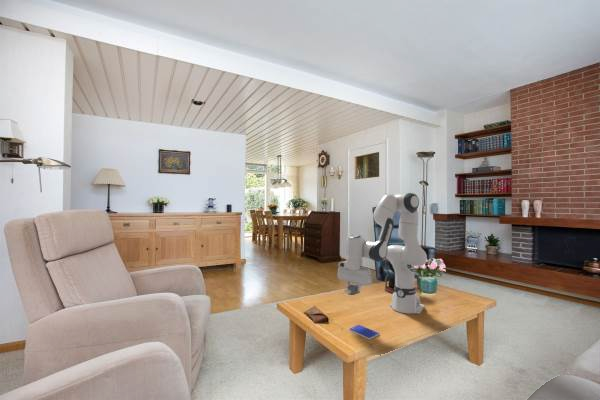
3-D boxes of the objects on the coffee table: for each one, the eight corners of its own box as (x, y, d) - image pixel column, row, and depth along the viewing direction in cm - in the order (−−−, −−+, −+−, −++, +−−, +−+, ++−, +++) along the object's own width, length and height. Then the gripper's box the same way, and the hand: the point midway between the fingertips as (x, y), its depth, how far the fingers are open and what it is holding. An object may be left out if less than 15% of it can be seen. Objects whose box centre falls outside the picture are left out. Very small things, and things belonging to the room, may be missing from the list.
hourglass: (407, 289, 218) (408, 256, 218) (407, 295, 203) (407, 260, 203) (385, 287, 223) (386, 255, 224) (383, 292, 208) (384, 258, 209)
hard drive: (349, 328, 145) (369, 337, 136) (359, 324, 150) (379, 332, 141) (349, 331, 145) (369, 340, 136) (359, 327, 150) (379, 335, 141)
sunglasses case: (302, 312, 168) (307, 301, 170) (311, 316, 170) (316, 306, 172) (315, 324, 152) (321, 312, 153) (325, 329, 154) (330, 317, 155)
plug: (355, 290, 161) (355, 283, 161) (361, 292, 158) (361, 284, 159) (343, 294, 153) (343, 287, 153) (349, 296, 150) (349, 289, 150)
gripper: (374, 267, 152) (373, 293, 152) (342, 261, 166) (342, 285, 166) (367, 269, 147) (367, 295, 147) (336, 262, 162) (335, 287, 162)
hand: (353, 290), depth 157 cm, fingers closed on plug, 4 cm apart
